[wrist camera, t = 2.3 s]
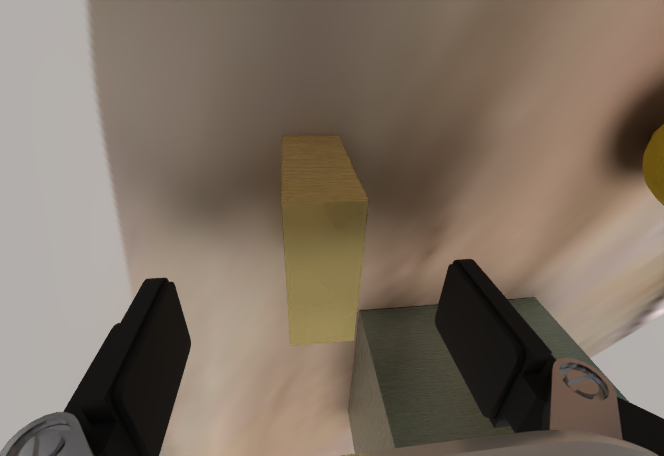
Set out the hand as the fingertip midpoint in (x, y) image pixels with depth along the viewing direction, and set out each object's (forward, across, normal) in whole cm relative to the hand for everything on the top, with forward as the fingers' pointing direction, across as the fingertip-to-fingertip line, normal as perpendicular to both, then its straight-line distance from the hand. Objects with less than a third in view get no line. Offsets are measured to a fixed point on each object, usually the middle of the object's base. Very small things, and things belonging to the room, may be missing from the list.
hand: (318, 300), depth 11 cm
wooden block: (+6, 0, -1) cm, 6 cm away
